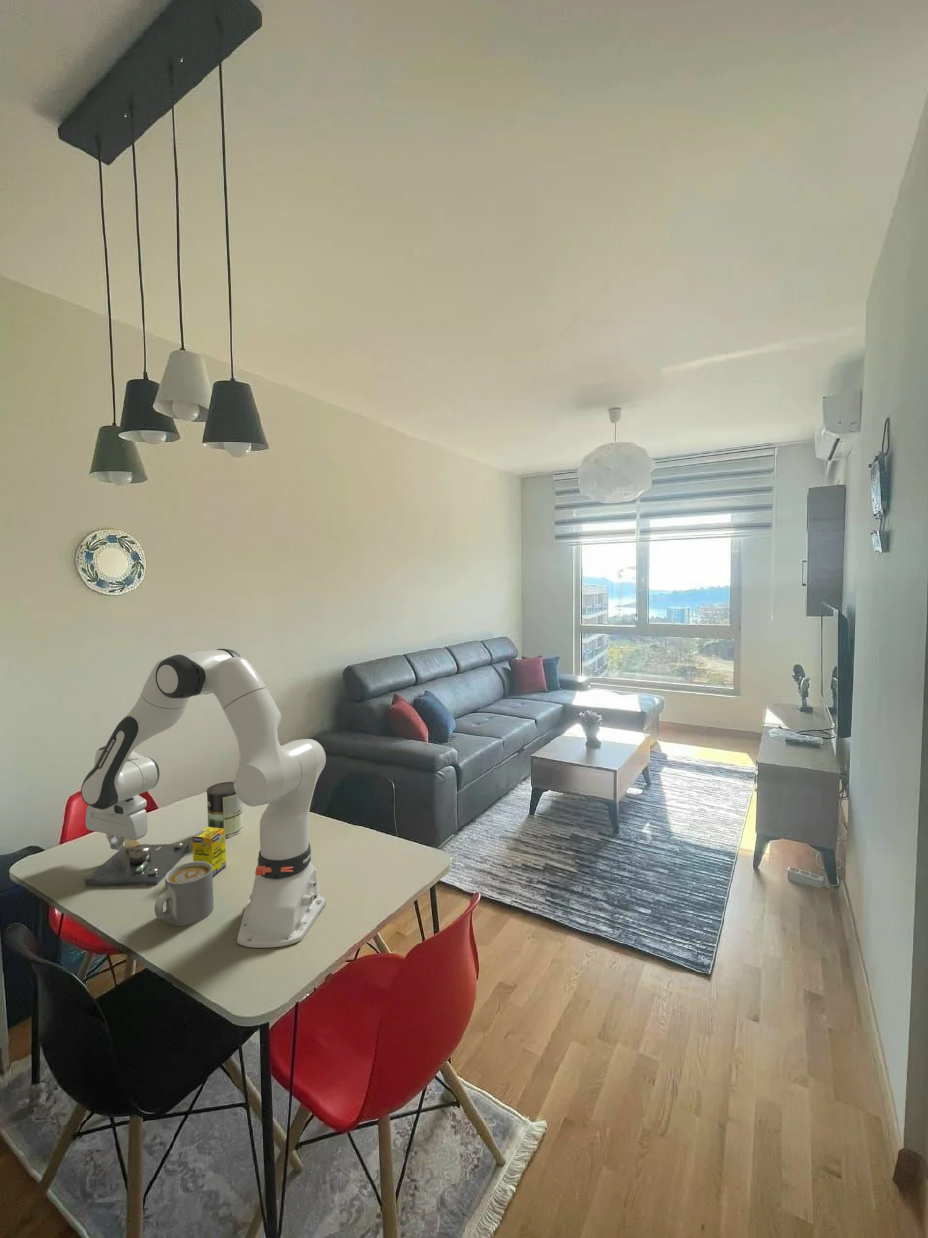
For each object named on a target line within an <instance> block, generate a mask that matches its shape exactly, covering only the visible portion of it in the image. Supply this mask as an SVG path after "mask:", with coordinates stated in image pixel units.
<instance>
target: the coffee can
mask: <svg viewBox="0 0 928 1238" xmlns="http://www.w3.org/2000/svg"><path fill="white" fill-rule="evenodd" d="M206 797H207V798H206V801H207V802H206V805H207V808H206V809H207V827H213V828H222V829H225V839H227V838H232V837H234V836H237V835H239V834H240V833H242V832H243V830H244V825H243V824H244V822H243V821H244V820H243V818H244V815H243V814H244V813H243V802H242V801H241V800H240V799H239V798H238V796H237V795H236V792H235V789H234V781H224V782H219V783H215V784H213V785H210V786H209V787H207V788H206Z"/></svg>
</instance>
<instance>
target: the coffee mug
mask: <svg viewBox="0 0 928 1238" xmlns="http://www.w3.org/2000/svg"><path fill="white" fill-rule="evenodd" d="M213 878H214V877H213V875H212V866H211V864H209V863H207V862H203V861H196V862H193V861H189V862H185V863H182V864H179V865H176V866H174V867H173V868H172V869H171V870H170V871H169V872H168V873H167V874H166V876H165V877H164V884H165V885H164V887H165V889H164V890H165V891H163V892H161V894H160V895H159V896H158V897H157V898H156V900H155V904H154V913H155V916H156V918H158V919H160V920H162V921H163V920H164V921H165V920H166V922H167V923H168V924H169V925H171V926H176V927H184V926H189V925H190V926H191V925H194V924H196V923H198V922H200V921H203V920H205V919H206V918H207V917H208V916H210V915H211V914H212V913H213V911H214V884H213V883H214V882H213V881H214V880H213ZM164 904H165V909H166V910H165V911H164Z"/></svg>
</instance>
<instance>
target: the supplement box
mask: <svg viewBox="0 0 928 1238" xmlns="http://www.w3.org/2000/svg"><path fill="white" fill-rule="evenodd" d="M226 849H227V848H226V838H225V829H222V828H213V827H208V826H207V827H205V828H204V829H202V830H200V831H199V832H197V833H196V834H194V835H192V862H196V861H203V862H207V863H209V864H211V866H212V875H213V878H214V877H215V876H216V875H217V874H218V873H220V872H221V871H222V870H224V869H225V868H226V867H227V861H226V860H227V858H226V857H227V855H226V853H227V852H226Z"/></svg>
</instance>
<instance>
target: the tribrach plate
mask: <svg viewBox="0 0 928 1238" xmlns="http://www.w3.org/2000/svg"><path fill="white" fill-rule="evenodd" d="M149 845H150V851H151V858H150V859H149V860H147V861H145V862H143V863H139V864H131V863H130V861H129V852H128V851H127V850H126V849H125V845H123V849H121V850H117V852H116V853H114V854H113V855H112V856H111V857H109V858H108V859H107V860H106V861H105V862H103V864H101V865H100V866H99V867H98V868H97V869H95V870H94V871H93V872H91V874H89V875H88V876H87V877H86V878H85V879H84V881H85V884H84V885H85V887H87V888H88V887H110V886H111V887H115V886H116V887H117V886H119V887H120V886H122V887H123V886H148V885H149V886H150V885H151V886H152V885H153V886H155V885H158V884H159V883H160V882H162V880H164V879H165V876H166V874H167V873H168V872H169V871H170V870H171V869H173V868H175V867H176V866H177V864H178V863H179V862H180V861H181V860H182V859H183V857H185V855H186V854H187V853H188V852H190V843H184V842H183V841H177V842H175V843H166V844H165V843H164V844H162V843H160V844H159V843H158V844H156V843H155V844H149Z"/></svg>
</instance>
